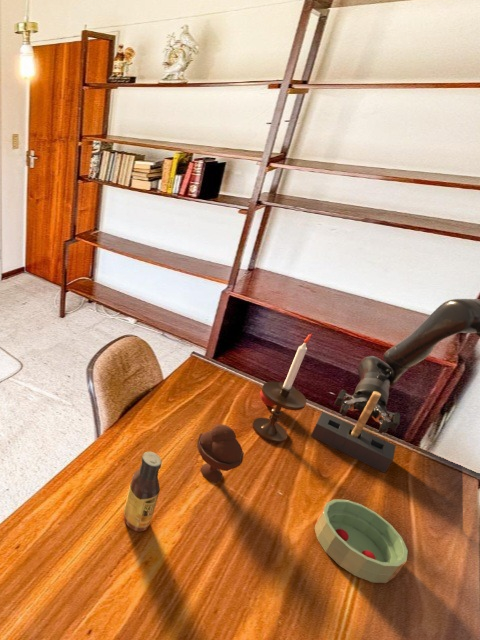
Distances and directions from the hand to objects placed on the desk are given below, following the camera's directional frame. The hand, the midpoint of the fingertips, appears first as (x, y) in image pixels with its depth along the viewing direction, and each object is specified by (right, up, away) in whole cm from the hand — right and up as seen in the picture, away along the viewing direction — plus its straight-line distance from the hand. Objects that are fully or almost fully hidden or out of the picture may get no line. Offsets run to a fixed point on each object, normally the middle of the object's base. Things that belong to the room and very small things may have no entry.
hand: (362, 421), depth 109 cm
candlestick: (-19, -7, +10) cm, 23 cm away
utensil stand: (+1, -9, +6) cm, 11 cm away
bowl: (-20, -21, -20) cm, 35 cm away
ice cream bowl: (-44, -12, -4) cm, 46 cm away
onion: (-14, -2, +21) cm, 25 cm away
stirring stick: (+1, -9, +6) cm, 11 cm away
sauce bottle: (-67, -17, -16) cm, 71 cm away
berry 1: (-21, -19, -20) cm, 34 cm away
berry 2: (-19, -21, -24) cm, 37 cm away
